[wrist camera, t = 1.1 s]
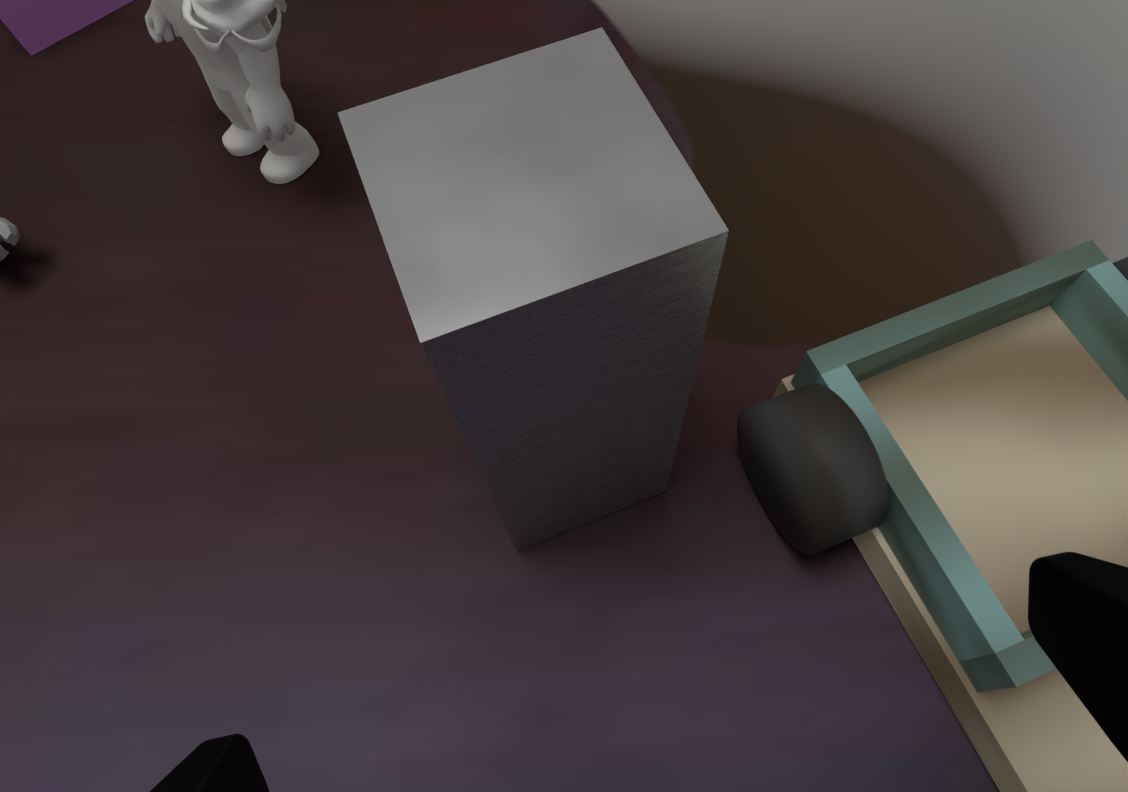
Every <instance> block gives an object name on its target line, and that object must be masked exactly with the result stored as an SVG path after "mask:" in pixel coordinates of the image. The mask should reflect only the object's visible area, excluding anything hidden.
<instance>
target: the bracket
mask: <svg viewBox="0 0 1128 792" xmlns="http://www.w3.org/2000/svg"><path fill="white" fill-rule="evenodd" d="M131 1H133V0H0V19H1V20H2V22H3V23H4V24H5V25H6V26H7V28H8V29H9V30H10V31H11V32H12V34H13V35H14V36H15V37H16V38H17V40H18V41H19V42H20V43H21V44H22V46H23V47H24V48H25V49H26V50H27V52H28V53H29V54H30V55H31V56H32V55H34V54H35V53H37V52H39V51H41V50H43V49H45V48H46V47H48V46H50V45H52V44H54V43H56V42H58V41H59V40H61V39H63V38H65V37H67V36H69V35H70V34H72V33H74V32H76V31H78V30H80V29H82V28H83V27H85V26H87V25H89V24H91V23H93V22H94V21H96V20H98V19H100V18H102V17H104V16H106V15H107V14H109V13H111V12H113V11H115V10H117V9H118V8H120V7H122V6H124V5H126V4H128V3H130V2H131Z"/></svg>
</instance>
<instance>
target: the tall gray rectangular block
mask: <svg viewBox="0 0 1128 792" xmlns="http://www.w3.org/2000/svg"><path fill="white" fill-rule="evenodd" d="M338 115H339V118H340V121H341V124H342V127H343V129H344V132H345V135H346V138H347V140H348V143H349V146H350V149H351V152H352V154H353V157H354V160H355V163H356V165H357V168H358V171H359V174H360V177H361V179H362V182H363V185H364V188H365V190H366V193H367V196H368V199H369V202H370V204H371V207H372V210H373V213H374V215H375V218H376V221H377V224H378V227H379V229H380V232H381V235H382V238H383V240H384V243H385V246H386V249H387V252H388V254H389V257H390V260H391V263H392V266H393V268H394V271H395V274H396V277H397V279H398V282H399V285H400V288H401V291H402V293H403V296H404V299H405V302H406V304H407V307H408V310H409V313H410V316H411V318H412V321H413V324H414V327H415V329H416V332H417V335H418V338H419V341H420V343H421V345H422V348H423V350H424V352H425V354H426V356H427V358H428V361H429V363H430V365H431V367H432V369H433V371H434V373H435V376H436V378H437V380H438V382H439V384H440V386H441V389H442V391H443V393H444V395H445V397H446V399H447V402H448V404H449V406H450V408H451V410H452V412H453V415H454V417H455V419H456V421H457V423H458V425H459V428H460V430H461V432H462V434H463V436H464V438H465V440H466V443H467V445H468V447H469V449H470V451H471V453H472V456H473V458H474V460H475V462H476V464H477V466H478V469H479V471H480V473H481V475H482V477H483V479H484V482H485V484H486V486H487V488H488V490H489V492H490V495H491V497H492V499H493V501H494V503H495V505H496V507H497V510H498V512H499V514H500V516H501V518H502V520H503V523H504V525H505V527H506V529H507V531H508V533H509V536H510V538H511V540H512V542H513V544H514V546H515V549H516V551H520V550H522V549H525V548H527V547H530V546H532V545H535V544H537V543H540V542H542V541H545V540H547V539H550V538H552V537H555V536H557V535H559V534H562V533H564V532H567V531H569V530H572V529H574V528H577V527H579V526H582V525H584V524H587V523H589V522H592V521H594V520H596V519H599V518H601V517H604V516H606V515H609V514H611V513H614V512H616V511H619V510H621V509H624V508H626V507H629V506H631V505H633V504H636V503H638V502H641V501H643V500H646V499H648V498H651V497H653V496H656V495H658V494H661V493H663V492H666V490H667V486H668V481H669V477H670V473H671V469H672V465H673V461H674V456H675V452H676V448H677V444H678V440H679V436H680V431H681V427H682V423H683V419H684V415H685V411H686V406H687V402H688V398H689V394H690V390H691V386H692V381H693V377H694V373H695V369H696V365H697V361H698V356H699V352H700V348H701V344H702V340H703V336H704V331H705V327H706V323H707V318H708V314H709V311H710V306H711V302H712V298H713V294H714V289H715V286H716V281H717V277H718V273H719V268H720V265H721V261H722V256H723V252H724V248H725V244H726V240H727V235H728V231H729V230H728V229H727V227H726V225H725V224H724V222H723V221H722V219H721V217H720V216H719V214H718V212H717V211H716V209H715V208H714V206H713V205H712V203H711V201H710V200H709V198H708V196H707V195H706V194H705V192H704V190H703V188H702V187H701V185H700V184H699V182H698V181H697V179H696V177H695V176H694V174H693V172H692V171H691V169H690V168H689V166H688V164H687V163H686V161H685V160H684V158H683V156H682V155H681V153H680V152H679V150H678V148H677V147H676V145H675V144H674V142H673V140H672V139H671V137H670V136H669V134H668V132H667V131H666V129H665V128H664V126H663V124H662V123H661V121H660V120H659V118H658V116H657V115H656V113H655V112H654V110H653V108H652V107H651V105H650V104H649V102H648V100H647V99H646V97H645V96H644V94H643V92H642V91H641V89H640V88H639V86H638V84H637V83H636V81H635V80H634V78H633V76H632V75H631V73H630V72H629V70H628V68H627V67H626V65H625V64H624V62H623V60H622V59H621V57H620V56H619V54H618V52H617V51H616V49H615V48H614V46H613V44H612V43H611V41H610V40H609V38H608V36H607V35H606V33H605V32H604V30H603V28H599V29H596V30H593V31H589V32H586V33H583V34H580V35H577V36H574V37H571V38H568V39H565V40H562V41H558V42H555V43H552V44H549V45H546V46H543V47H540V48H537V49H534V50H530V51H527V52H524V53H521V54H518V55H515V56H512V57H509V58H506V59H503V60H499V61H496V62H493V63H490V64H487V65H484V66H481V67H478V68H475V69H472V70H468V71H465V72H462V73H459V74H456V75H453V76H450V77H447V78H444V79H441V80H437V81H434V82H431V83H428V84H425V85H422V86H419V87H416V88H413V89H410V90H406V91H403V92H400V93H397V94H394V95H391V96H388V97H385V98H382V99H379V100H375V101H372V102H369V103H366V104H363V105H360V106H357V107H354V108H351V109H348V110H344V111H341V112H338Z"/></svg>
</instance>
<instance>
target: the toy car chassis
mask: <svg viewBox="0 0 1128 792" xmlns="http://www.w3.org/2000/svg"><path fill="white" fill-rule="evenodd" d="M737 435H738V442H739V448H740V452H741V456H742V460H743V463H744V466H745V469H746V472H747V475H748V477H749V480H750V482H751V485H752V487H753V489H754V491H755V493H756V496H757V498H758V499H759V501H760V503H761V505H762V507H763V509H764V511H765V512H766V514H767V516H768V517H769V519H770V520H771V522H772V523H773V525H774V526H775V528H776V529H777V530H778V532H779V533H780V534H781V535H782V536H783V538H784V539H785V540H786V541H787V542H788V543H789V544H790V545H791V546H792V547H793V548H795V549H796V550H797V551H799V552H800V553H803V554H805V555H813V554H816V553H818V552H820V551H823V550H825V549H827V548H830V547H832V546H834V545H837V544H839V543H841V542H844V541H846V540H848V539H851V538H852V539H853V540H854V542H855V544H856V546H857V547H858V549H859V551H860V552H861V554H862V556H863V558H864V559H865V561H866V563H867V564H868V566H869V568H870V570H871V571H872V573H873V575H874V576H875V578H876V580H877V582H878V583H879V585H880V587H881V588H882V590H883V592H884V594H885V595H886V597H887V599H888V601H889V602H890V604H891V606H892V607H893V609H894V611H895V613H896V614H897V616H898V618H899V619H900V621H901V623H902V625H903V626H904V628H905V630H906V631H907V633H908V635H909V637H910V638H911V640H912V642H913V643H914V645H915V647H916V649H917V650H918V652H919V654H920V655H921V657H922V659H923V661H924V662H925V664H926V666H927V667H928V669H929V671H930V673H931V674H932V676H933V678H934V679H935V681H936V683H937V685H938V686H939V688H940V690H941V691H942V693H943V695H944V697H945V698H946V700H947V702H948V704H949V705H950V707H951V709H952V710H953V712H954V714H955V716H956V717H957V719H958V721H959V722H960V724H961V726H962V728H963V729H964V731H965V733H966V734H967V736H968V738H969V740H970V741H971V743H972V745H973V746H974V748H975V750H976V752H977V753H978V755H979V757H980V758H981V760H982V762H983V764H984V765H985V767H986V769H987V770H988V772H989V774H990V776H991V777H992V779H993V781H994V782H995V784H996V786H997V788H998V789H999V791H1000V792H1128V762H1127V761H1126V760H1125V759H1124V757H1123V756H1122V755H1121V754H1120V752H1119V751H1118V750H1117V749H1116V747H1115V746H1114V745H1113V743H1112V742H1111V741H1110V740H1109V738H1108V737H1107V736H1106V734H1105V733H1104V732H1103V730H1102V729H1101V728H1100V726H1099V725H1098V724H1097V722H1096V721H1095V719H1094V718H1093V717H1092V715H1091V714H1090V713H1089V711H1088V710H1087V709H1086V707H1085V706H1084V705H1083V703H1082V702H1081V701H1080V699H1079V698H1078V697H1077V695H1076V694H1075V693H1074V691H1073V690H1072V689H1071V687H1070V686H1069V685H1068V683H1067V682H1066V681H1065V679H1064V678H1063V677H1062V675H1061V674H1060V673H1059V671H1058V670H1057V669H1056V667H1055V666H1054V664H1053V663H1052V662H1051V660H1050V659H1049V658H1048V656H1047V655H1046V654H1045V652H1044V651H1043V650H1042V648H1041V647H1040V646H1039V644H1038V643H1037V641H1036V640H1035V638H1034V636H1033V634H1032V632H1031V630H1030V627H1029V622H1028V592H1029V569H1030V566H1031V564H1032V562H1033V561H1034V560H1035V559H1037V558H1039V557H1043V556H1048V555H1053V554H1057V553H1062V552H1076V553H1079V554H1083V555H1087V556H1090V557H1094V558H1097V559H1101V560H1104V561H1108V562H1111V563H1115V564H1118V565H1122V566H1125V567H1128V257H1127V258H1124V259H1122V260H1120V261H1117V262H1115V263H1111V261H1110V260H1109V259H1108V258H1107V257H1106V256H1105V255H1104V254H1103V253H1102V251H1101V250H1100V249H1099V248H1098V247H1097V246H1096V245H1095V244H1094V242H1093V241H1091V240H1090V241H1088V242H1085V243H1083V244H1080V245H1078V246H1075V247H1072V248H1070V249H1068V250H1065V251H1062V252H1060V253H1057V254H1055V255H1052V256H1049V257H1047V258H1044V259H1042V260H1039V261H1037V262H1034V263H1031V264H1029V265H1026V266H1024V267H1021V268H1019V269H1016V270H1014V271H1011V272H1008V273H1006V274H1003V275H1001V276H998V277H996V278H993V279H991V280H988V281H985V282H983V283H980V284H978V285H975V286H973V287H970V288H967V289H965V290H963V291H960V292H958V293H955V294H952V295H950V296H947V297H944V298H942V299H939V300H937V301H934V302H932V303H929V304H927V305H924V306H921V307H919V308H916V309H914V310H911V311H909V312H906V313H904V314H901V315H898V316H896V317H893V318H891V319H888V320H886V321H883V322H880V323H878V324H875V325H873V326H870V327H868V328H865V329H863V330H860V331H858V332H855V333H852V334H850V335H847V336H845V337H842V338H839V339H837V340H834V341H832V342H829V343H827V344H824V345H822V346H819V347H816V348H814V349H811V350H809V351H806V353H805V355H804V357H803V359H802V361H801V363H800V365H799V367H798V369H797V371H796V373H795V374H794V375H792V376H789V377H787V378H784V379H782V380H781V382H780V384H779V386H778V388H777V390H776V392H775V394H774V396H773V398H771V399H769V400H766V401H764V402H761V403H759V404H756V405H754V406H751V407H748V408H746V409H744V410H742V411H741V413H740V415H739V417H738V423H737Z"/></svg>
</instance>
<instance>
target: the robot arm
mask: <svg viewBox="0 0 1128 792" xmlns="http://www.w3.org/2000/svg"><path fill="white" fill-rule="evenodd" d="M1028 622H1029V627H1030V630H1031V632H1032V634H1033V636H1034V638H1035V640H1036V641H1037V643H1038V644H1039V646H1040V647H1041V648H1042V650H1043V651H1044V652H1045V654H1046V655H1047V656H1048V658H1049V659H1050V660H1051V662H1052V663H1053V664H1054V666H1055V667H1056V669H1057V670H1058V671H1059V673H1060V674H1061V675H1062V677H1063V678H1064V679H1065V681H1066V682H1067V683H1068V685H1069V686H1070V687H1071V689H1072V690H1073V691H1074V693H1075V694H1076V695H1077V697H1078V698H1079V699H1080V701H1081V702H1082V703H1083V705H1084V706H1085V707H1086V709H1087V710H1088V711H1089V713H1090V714H1091V715H1092V717H1093V718H1094V719H1095V721H1096V722H1097V724H1098V725H1099V726H1100V728H1101V729H1102V730H1103V732H1104V733H1105V734H1106V736H1107V737H1108V738H1109V740H1110V741H1111V742H1112V743H1113V745H1114V746H1115V747H1116V749H1117V750H1118V751H1119V752H1120V754H1121V755H1122V756H1123V757H1124V759H1125V760H1126V761H1127V762H1128V567H1125V566H1122V565H1118V564H1115V563H1111V562H1108V561H1104V560H1101V559H1097V558H1094V557H1090V556H1087V555H1083V554H1079V553H1076V552H1062V553H1057V554H1053V555H1048V556H1043V557H1039V558H1037V559H1035V560H1034V561H1033V562H1032V564H1031V566H1030V569H1029V592H1028ZM150 792H269V789H268V786H267V783H266V781H265V778H264V776H263V774H262V771H261V769H260V766H259V764H258V762H257V759H256V757H255V754H254V752H253V750H252V747H251V745H250V743H249V741H248V739H247V738H246V737H245V736H243V735H241V734H233V735H228V736H224V737H219V738H214V739H210V740H207V741H205V742H203V743H201V744H200V745H199V746H198V747H197V748H196V749H194V750H193V751H192V752H191V753H190V754H189V755H188V756H187V757H186V758H185V759H184V760H183V761H182V762H181V763H180V764H179V765H177V766H176V767H175V768H174V769H173V770H172V771H171V772H170V773H169V774H168V775H167V776H166V777H165V778H164V779H163V780H162V781H160V782H159V783H158V784H157V785H156V786H155V787H154V788H153V789H152V790H151V791H150Z"/></svg>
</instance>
